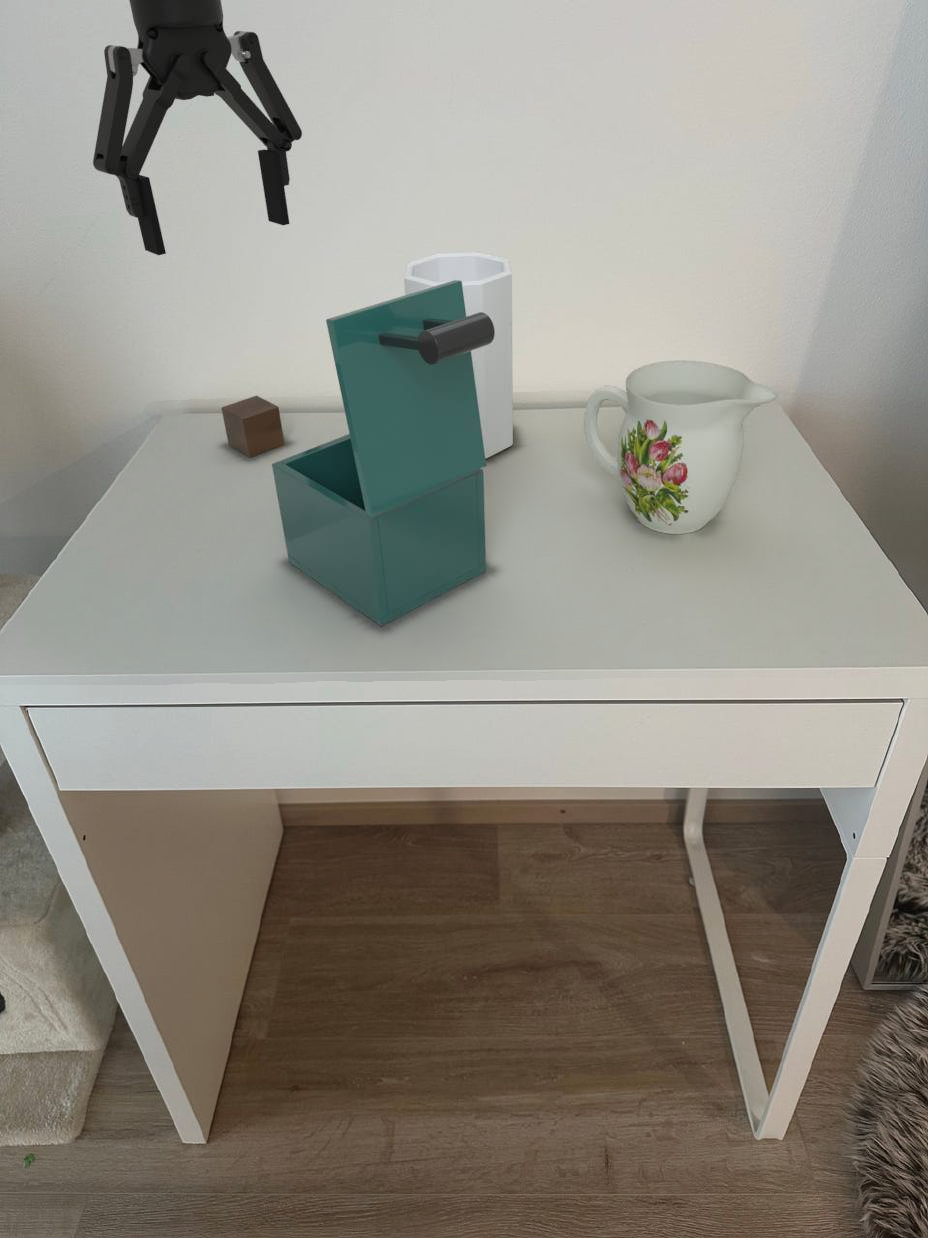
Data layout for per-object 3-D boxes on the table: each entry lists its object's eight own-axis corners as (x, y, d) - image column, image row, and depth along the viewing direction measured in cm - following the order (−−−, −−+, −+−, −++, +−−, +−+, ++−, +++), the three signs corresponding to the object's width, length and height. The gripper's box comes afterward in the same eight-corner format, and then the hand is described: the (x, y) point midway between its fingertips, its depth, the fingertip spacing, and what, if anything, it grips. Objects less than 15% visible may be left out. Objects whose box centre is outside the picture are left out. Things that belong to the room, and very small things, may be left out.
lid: (325, 319, 63) (392, 327, 57) (454, 279, 69) (526, 284, 64) (365, 515, 70) (428, 539, 65) (480, 463, 76) (546, 481, 71)
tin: (288, 562, 84) (271, 463, 78) (390, 515, 90) (381, 420, 84) (381, 626, 76) (369, 521, 70) (486, 570, 82) (483, 469, 76)
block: (228, 445, 104) (220, 407, 101) (263, 432, 106) (256, 395, 104) (249, 458, 101) (242, 419, 98) (285, 444, 103) (278, 406, 101)
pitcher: (612, 465, 97) (620, 334, 88) (778, 516, 87) (804, 375, 79) (551, 508, 90) (554, 371, 82) (723, 569, 80) (746, 420, 72)
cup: (489, 411, 109) (485, 245, 98) (532, 449, 100) (534, 272, 89) (399, 430, 105) (385, 261, 94) (436, 471, 97) (425, 291, 86)
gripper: (41, -20, 69) (116, 273, 82) (318, -39, 82) (346, 217, 95) (4, -20, 74) (80, 257, 87) (272, -38, 87) (304, 205, 100)
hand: (219, 236), depth 91 cm, fingers open, 13 cm apart
